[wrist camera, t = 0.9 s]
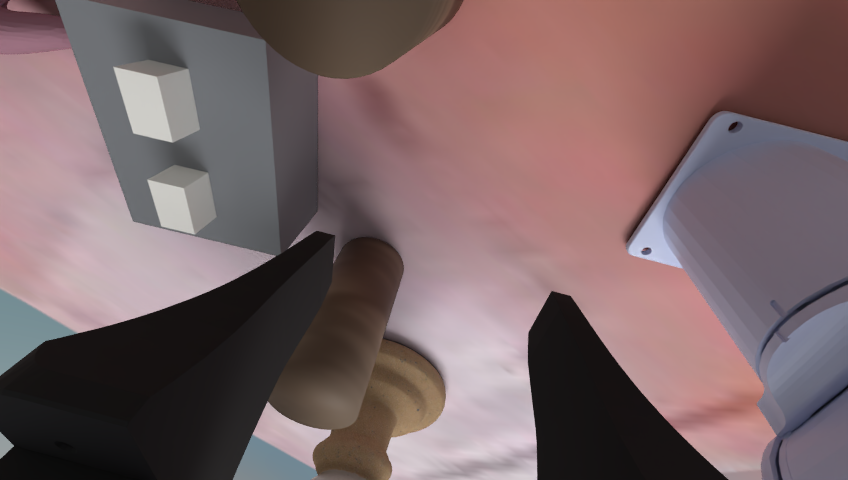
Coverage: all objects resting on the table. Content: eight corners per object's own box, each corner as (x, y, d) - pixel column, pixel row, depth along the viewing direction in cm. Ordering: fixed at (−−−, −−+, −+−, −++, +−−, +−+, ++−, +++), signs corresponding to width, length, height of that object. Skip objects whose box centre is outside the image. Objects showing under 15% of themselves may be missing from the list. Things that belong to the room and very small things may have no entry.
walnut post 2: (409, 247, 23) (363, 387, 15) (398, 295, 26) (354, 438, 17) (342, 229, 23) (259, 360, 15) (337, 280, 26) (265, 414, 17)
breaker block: (319, 28, 17) (239, 45, 12) (318, 209, 23) (265, 276, 17) (156, -8, 17) (3, -8, 12) (196, 180, 23) (106, 238, 18)
